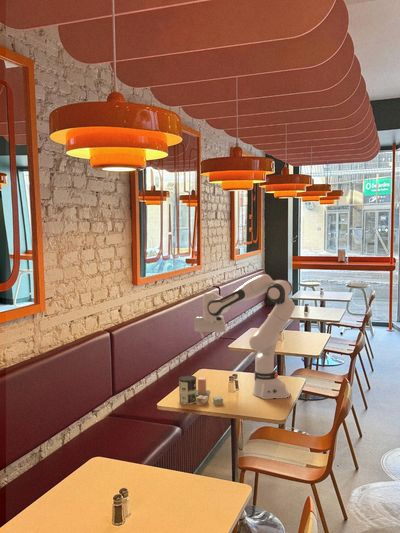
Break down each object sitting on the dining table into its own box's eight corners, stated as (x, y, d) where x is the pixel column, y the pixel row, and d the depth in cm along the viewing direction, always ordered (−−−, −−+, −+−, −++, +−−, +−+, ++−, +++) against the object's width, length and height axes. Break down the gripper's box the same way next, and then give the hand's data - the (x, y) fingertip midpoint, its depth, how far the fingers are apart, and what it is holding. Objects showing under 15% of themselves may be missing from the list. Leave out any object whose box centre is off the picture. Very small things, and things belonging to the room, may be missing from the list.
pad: (210, 391, 306) (210, 390, 306) (208, 396, 297) (208, 395, 297) (195, 391, 307) (195, 390, 307) (193, 396, 298) (193, 395, 298)
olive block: (221, 401, 289) (221, 396, 289) (223, 404, 284) (223, 398, 284) (213, 402, 288) (213, 396, 288) (214, 405, 283) (214, 399, 283)
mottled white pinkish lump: (208, 402, 288) (208, 396, 287) (204, 405, 283) (204, 398, 283) (200, 401, 289) (200, 395, 289) (196, 404, 285) (196, 397, 284)
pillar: (206, 391, 304) (206, 377, 303) (205, 394, 300) (205, 379, 299) (199, 391, 305) (198, 377, 304) (198, 393, 300) (197, 379, 299)
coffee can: (196, 398, 295) (196, 375, 294) (196, 404, 285) (196, 380, 284) (179, 398, 295) (179, 375, 294) (178, 404, 285) (178, 380, 284)
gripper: (193, 317, 311) (193, 339, 312) (225, 318, 309) (225, 339, 310) (194, 316, 317) (194, 337, 318) (226, 316, 315) (226, 337, 316)
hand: (210, 338), depth 314 cm, fingers open, 8 cm apart
